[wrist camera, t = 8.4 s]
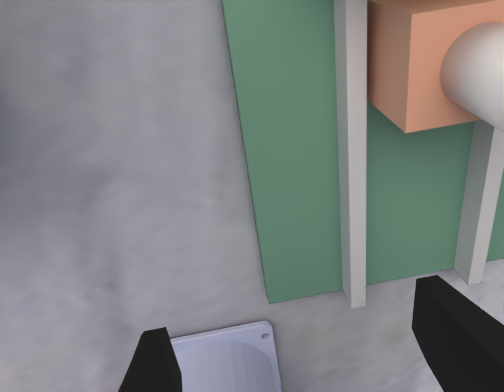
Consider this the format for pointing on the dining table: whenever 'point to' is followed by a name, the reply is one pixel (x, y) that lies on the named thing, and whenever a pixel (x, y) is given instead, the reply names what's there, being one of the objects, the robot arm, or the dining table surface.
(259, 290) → the dining table surface
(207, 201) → the dining table surface
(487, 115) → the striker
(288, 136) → the pitch board
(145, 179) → the dining table surface
